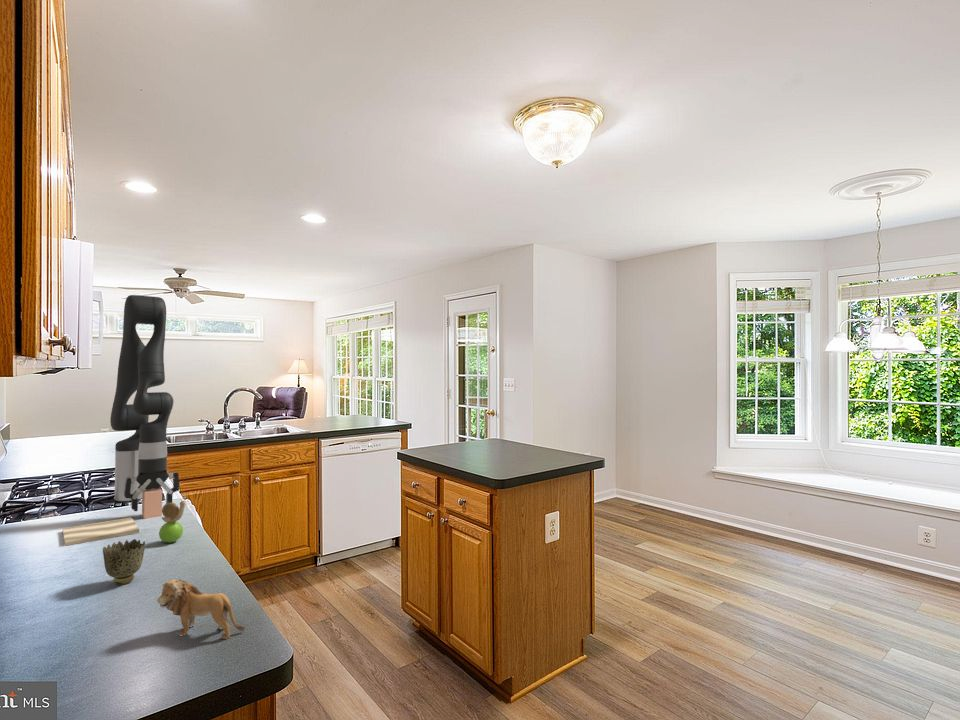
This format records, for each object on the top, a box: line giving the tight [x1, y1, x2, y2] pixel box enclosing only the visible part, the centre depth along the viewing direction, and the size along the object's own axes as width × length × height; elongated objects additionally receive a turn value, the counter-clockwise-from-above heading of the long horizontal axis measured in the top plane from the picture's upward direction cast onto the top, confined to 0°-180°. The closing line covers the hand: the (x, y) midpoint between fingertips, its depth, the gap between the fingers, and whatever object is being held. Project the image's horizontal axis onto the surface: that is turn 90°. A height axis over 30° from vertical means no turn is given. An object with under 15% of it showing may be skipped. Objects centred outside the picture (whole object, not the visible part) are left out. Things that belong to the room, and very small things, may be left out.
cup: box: [102, 538, 146, 586], centre depth 107 cm, size 8×7×8 cm
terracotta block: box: [141, 487, 163, 520], centre depth 156 cm, size 5×5×8 cm
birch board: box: [62, 517, 140, 547], centre depth 140 cm, size 15×16×1 cm
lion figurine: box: [157, 578, 246, 640], centre depth 87 cm, size 15×5×9 cm, turn 90°
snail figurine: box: [158, 495, 187, 544], centre depth 132 cm, size 5×6×12 cm
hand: (152, 508), depth 156 cm, fingers open, 8 cm apart
